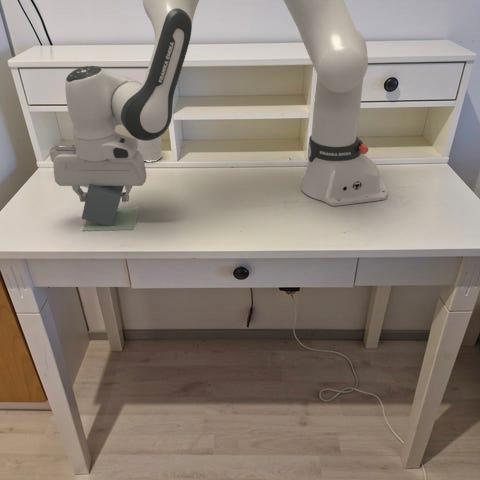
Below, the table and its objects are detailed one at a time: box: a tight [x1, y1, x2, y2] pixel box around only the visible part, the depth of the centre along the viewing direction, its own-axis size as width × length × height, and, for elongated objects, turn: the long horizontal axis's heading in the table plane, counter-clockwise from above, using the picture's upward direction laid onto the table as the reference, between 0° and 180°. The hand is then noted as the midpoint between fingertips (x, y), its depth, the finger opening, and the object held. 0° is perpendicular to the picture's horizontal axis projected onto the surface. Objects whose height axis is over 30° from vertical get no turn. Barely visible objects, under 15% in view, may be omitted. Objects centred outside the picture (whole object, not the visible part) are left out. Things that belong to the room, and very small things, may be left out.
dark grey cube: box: [81, 184, 125, 226], centre depth 110 cm, size 7×7×9 cm
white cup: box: [134, 135, 163, 161], centre depth 139 cm, size 8×8×10 cm
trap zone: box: [81, 207, 141, 232], centre depth 113 cm, size 12×10×1 cm
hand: (105, 200), depth 110 cm, fingers open, 8 cm apart
